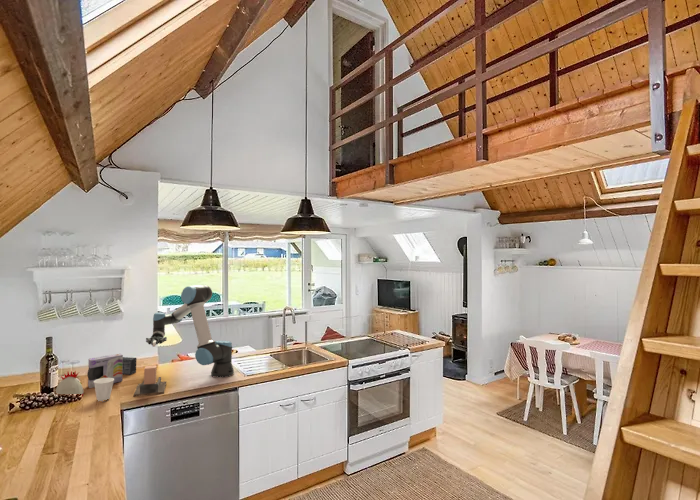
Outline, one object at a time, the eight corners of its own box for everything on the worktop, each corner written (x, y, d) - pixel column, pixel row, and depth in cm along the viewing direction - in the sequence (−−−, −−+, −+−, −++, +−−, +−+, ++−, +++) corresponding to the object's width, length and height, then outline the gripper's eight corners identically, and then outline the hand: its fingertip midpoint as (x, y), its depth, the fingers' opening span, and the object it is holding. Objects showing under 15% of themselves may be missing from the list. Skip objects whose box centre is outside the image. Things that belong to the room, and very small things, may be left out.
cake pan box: (87, 388, 237) (88, 359, 237) (85, 386, 240) (86, 358, 240) (122, 382, 251) (123, 354, 251) (120, 380, 254) (121, 353, 254)
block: (155, 388, 237) (156, 365, 237) (154, 391, 231) (155, 367, 232) (144, 389, 235) (145, 365, 235) (143, 392, 229) (144, 368, 229)
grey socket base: (166, 383, 251) (166, 373, 251) (163, 393, 232) (164, 383, 232) (138, 385, 245) (138, 375, 245) (133, 396, 226) (133, 386, 226)
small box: (136, 372, 271) (137, 357, 271) (130, 375, 264) (131, 359, 265) (122, 371, 272) (123, 356, 272) (116, 374, 265) (116, 359, 266)
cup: (117, 398, 223) (118, 378, 223) (101, 404, 214) (102, 384, 214) (104, 395, 226) (105, 376, 227) (88, 401, 217) (89, 381, 217)
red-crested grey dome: (83, 399, 221) (84, 372, 221) (52, 403, 213) (53, 376, 213) (83, 391, 232) (84, 366, 232) (54, 395, 224) (55, 369, 225)
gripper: (167, 342, 273) (165, 349, 251) (146, 343, 268) (142, 351, 246) (167, 331, 273) (165, 337, 251) (147, 332, 268) (142, 339, 246)
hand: (153, 344), depth 249 cm, fingers closed
